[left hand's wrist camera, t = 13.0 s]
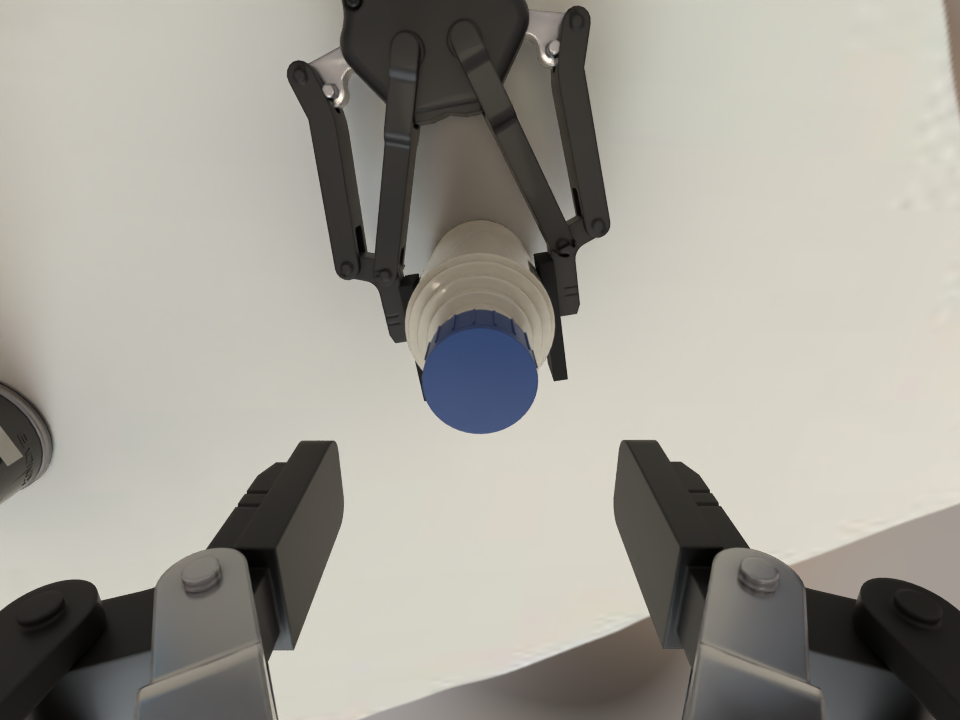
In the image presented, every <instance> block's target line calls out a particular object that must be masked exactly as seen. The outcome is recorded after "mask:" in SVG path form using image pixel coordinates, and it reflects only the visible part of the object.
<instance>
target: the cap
mask: <svg viewBox="0 0 960 720" xmlns="http://www.w3.org/2000/svg"><path fill="white" fill-rule="evenodd" d="M424 360H426V361H425V365H424V368H423V374H422V377H421V379H422V387H423V393H424V396H425V399H426V401H427V403H428V405H429V407H430V408H431V410H432V411H433V412H434V414H435V415H436V416H437V417H438V418H439V419H440V420H442V421H443V422H444V423H446V424H447V425H449V426H451V427H452V428H455V429H457V430H460V431H463V432H467V433H473V434H486V433H493V432H497V431H500V430H503V429H505V428H507V427H509V426H511V425H513V424H514V423H516V422H517V421H518V420H519V419H521V418H522V417H523V416H524V415H525V414H526V412H527V411H528V410H529V408H530V407H531V405H532V403H533V401H534V399H535V396H536V392H537V387H538V374H537V368H538V366H537V362H536V358H535V355H534V351H533V350H531V346H530V343H529V340H528V336H527V333H526V332H525V333H524V332H523V330H522V329H521V328H520V327H519V326H518V325H517V324H516V323H515V322H514V319H510V318H508V317H507V316H505V315H503V314H500V313H497V312H496V310H493V311H489V310H475V309H473V310H470V311H466V312H463V313H460V314H457V315H456V314H454V315H453V317H452V318H450V319H449V320H447V321H446V322H445V323H444V324H442V325H441V326H438V329H437V331H436V333H435V335H434V336H433V338H432V340H431V342H429V344H428V347H427V351H426V354H425V358H424Z"/></svg>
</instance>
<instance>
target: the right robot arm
mask: <svg viewBox="0 0 960 720" xmlns="http://www.w3.org/2000/svg"><path fill="white" fill-rule="evenodd" d="M342 4H343V10H344V22H343V28H342V32H341V37H340V47H338V48H336V49H335V50H333V51H331V52H329V53H327V54H325V55H324V56H322V57H320V58H318V59H316V60H314V61H313V62H311V63H306V62H304V61H299V60H298V61H294V62H292V63H291V64H290V65H289V67H288V70H287V78H288V81H289V83H290V85H291V87H292V89H293V91H294V93H295V95H296V97H297V99H298V100H299V102H300V104H301V106H302V108H303V110H304V112H305V114H306V116H307V118H308V120H309V125H310V131H311V136H312V142H313V148H314V153H315V159H316V164H317V170H318V176H319V181H320V187H321V192H322V198H323V204H324V209H325V215H326V220H327V226H328V232H329V237H330V243H331V248H332V254H333V260H334V265H335V270H336V273H337V274H338V275H339V277H340V278H342V279H344V280H351V279H358V280H363V281H368V282H370V283H372V284H374V285H375V286H376V287H377V289H378V291H379V293H380V297H381V301H382V305H383V310H384V314H385V317H386V322H387V326H388V330H389V334H390V336H391V338H392V339H393V340H394V342H395V343H400V342H406V341H407V339H406V332H405V317H406V310H407V307H408V303H409V300H410V298H411V296H412V293H413V291H414V289H415V287H416V285H417V283H418V281H419V279H420V278H419V273H418V274H412V275H406V276H405V277H404V274H403V269H404V267H405V265H404V257H405V248H406V239H407V230H408V221H409V212H410V203H411V194H412V185H413V176H414V167H415V158H416V150H417V145H418V141H419V133H420V126H421V125H427V124H432V123H436V122H438V121H440V120H442V119H444V118H446V117H448V116H461V117H469V116H475V115H480V114H483V116H484V118H485V120H486V122H487V124H488V126H489V128H490V130H491V132H492V134H493V136H494V138H495V140H496V142H497V144H498V146H499V148H500V150H501V152H502V154H503V156H504V158H505V160H506V162H507V164H508V166H509V168H510V170H511V172H512V174H513V176H514V179H515V181H516V183H517V185H518V187H519V189H520V191H521V193H522V195H523V197H524V199H525V201H526V203H527V205H528V207H529V209H530V211H531V213H532V215H533V217H534V219H535V221H536V223H537V225H538V227H539V229H540V231H541V234H542V236H543V238H544V240H545V242H546V244H547V251H548V252H542V253H536V254H534V261H535V268H536V271H537V273H538V275H539V277H540V279H541V282H542V284H543V286H544V288H545V290H546V292H547V294H548V296H549V298H550V300H551V303H552V307H553V311H554V317H555V332H554V338H553V342H552V346H551V349H550V351H549V354H548V356H547V360H548V365H549V368H550V371H551V374H552V377H553V380H554V381H559V380H566V379H568V377H567V369H566V360H565V352H564V343H563V335H562V326H561V318H560V316H566V315H572V314H577V312H578V308H579V305H580V301H579V291H578V282H577V272H576V262H575V256H576V253H577V251H578V249H579V248H580V247H581V246H582V245H584V244H585V243H587V242H589V241H591V240H592V239H594V238H598V237H602V236H604V235H605V234H606V233H607V232H608V231H609V228H610V218H609V212H608V206H607V200H606V194H605V188H604V182H603V177H602V171H601V165H600V159H599V153H598V147H597V141H596V135H595V129H594V123H593V117H592V111H591V105H590V99H589V93H588V88H587V82H586V76H585V70H584V65H585V58H586V51H587V44H588V37H589V30H590V15H589V13H588V11H587V10H586V9H585V8H584V7H581V6H573V7H572V8H570V9H568V11H567V12H566V13H558V12H549V11H539V10H530V9H528V6H527V3H526V1H525V0H342ZM524 39H525V40H529V41H530V42H532V43H533V44H534V46H535V47H536V50H537V57H538V61H539V63H540V64H541V65H542V66H543V67H545V68H548V69H551V85H552V92H553V98H554V103H555V109H556V114H557V119H558V124H559V129H560V135H561V140H562V145H563V150H564V156H565V161H566V166H567V171H568V177H569V182H570V187H571V192H572V198H573V203H574V208H575V213H576V216H575V217H573V218H571V219H570V220H568V221H565V219H564V217H563V214H562V212H561V210H560V208H559V206H558V204H557V202H556V200H555V197H554V195H553V193H552V191H551V189H550V187H549V185H548V183H547V180H546V178H545V176H544V174H543V172H542V170H541V168H540V166H539V163H538V161H537V159H536V157H535V155H534V153H533V151H532V149H531V146H530V144H529V142H528V140H527V138H526V136H525V134H524V132H523V129H522V127H521V125H520V123H519V121H518V119H517V116H516V113H515V110H514V108H513V106H512V104H511V101H510V99H509V97H508V95H507V93H506V91H505V89H504V87H503V84H504V82H505V79H506V77H507V75H508V73H509V71H510V68H511V66H512V64H513V62H514V60H515V57H516V55H517V53H518V51H519V49H520V46H521V44H522V42H523V40H524ZM353 73H356V74H357V75H358V76H359V77H360V78H361V79H362V80H363V81H364V82H365V83H366V84H367V85H368V86H369V87H370V88H371V89H372V90H373V91H374V92H375V93H376V94H377V95H378V96H379V97H380V98H381V99H382V100H383V101H384V102H385V103H386V114H385V126H384V140H385V147H384V158H383V169H382V180H381V191H380V202H379V213H378V224H377V235H376V246H375V254H374V253H369V252H367V246H366V240H365V233H364V227H363V220H362V214H361V207H360V201H359V194H358V188H357V181H356V175H355V168H354V162H353V155H352V149H351V142H350V136H349V130H348V125H347V121H346V118H345V115H344V111H343V109H342V108H343V107H345V106H346V105H347V104H348V102H349V99H350V93H349V89H348V81H349V78H350V77H351V75H352V74H353ZM415 362H416V361H415ZM416 367H417V371H418V376H419V380H420V384H421V389H422V393H423V387H422V379H421V377H422V374H423V371H422V369H421V368H420V367H419V366H418V364H417V363H416ZM423 397H424V401H426V399H425V396H424V393H423Z"/></svg>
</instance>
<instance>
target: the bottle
mask: <svg viewBox="0 0 960 720" xmlns="http://www.w3.org/2000/svg"><path fill="white" fill-rule="evenodd" d="M473 309H475V310H489V311H493V310H496V312H497V313H500V314H503V315H505V316H507V317H508V318H510V319H514V322H515V323H516V324H517V325H518V326H519V327H520V328H521V329H522V330H523V332H524V333H525V332H526V333H527V336H528V340H529V343H530V346H531V350H533V351H534V355H535V358H536V362H537V366H538V368H537V370H538V369H539V368H540V367H541V365H542V364H543V363H544V361H545V359H546V357H547V356H548V354H549V351H550V349H551V346H552V342H553V338H554V332H555V317H554V311H553V307H552V303H551V300H550V298H549V296H548V294H547V292H546V290H545V288H544V286H543V284H542V282H541V279H540V277H539V275H538V273H537V271H536V269H535V267H534V265H533V263H532V261H531V259H530V257H529V255H528V253H527V251H526V249H525V247H524V245H523V244H522V242H521V241H520V239H519V238H518V237H517V236H516V235H515V234H514V233H513V232H512V231H511V230H509V229H508V228H506V227H505V226H503V225H500V224H498V223H495V222H492V221H487V220H474V221H468V222H465V223H462V224H459V225H457V226H456V227H454V228H452V229H451V230H449V231H448V232H447V233H446V234H445V235H444V236H443V237H442V238H441V239H440V241H439V242H438V244H437V245H436V247H435V249H434V251H433V253H432V255H431V257H430V259H429V261H428V263H427V265H426V267H425V269H424V271H423V273H422V275H421V277H420V279H419V281H418V283H417V285H416V287H415V289H414V291H413V293H412V296H411V298H410V300H409V303H408V307H407V310H406V317H405V332H406V339H407V343H408V346H409V349H410V351H411V354H412V356H413V358H414V359H415V361H416V363H417V364H418V366H419V367H420V368H421V369H422V371H423V368H424V365H425V361H426V360H424V358H425V354H426V351H427V347H428V344H429V342H431V340H432V338H433V336H434V335H435V333H436V331H437V329H438V326H441V325H442V324H444V323H445V322H446V321H447V320H449V319H450V318H452V317H453V315H454V314H456V315H457V314H460V313H463V312H466V311H470V310H473Z"/></svg>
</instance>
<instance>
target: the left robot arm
mask: <svg viewBox="0 0 960 720" xmlns="http://www.w3.org/2000/svg"><path fill="white" fill-rule="evenodd" d="M51 456H52V444H51V439H50V435H49V432H48V430H47V428H46V425H45V424H44V422H43V420H42V419H41V417H40V416H39V414H38V413H37V412H36V411H35V409H34V408H33V407H32V406H31V405H30V404H29V403H28V402H27V401H26V400H25V399H23V398H22V397H21V396H20V395H18V394H17V393H15V392H14V391H12V390H11V389H9V388H7V387H6V386H4V385H2V384H0V504H2V503H3V502H4V501H6V500H7V499H8V498H10V497H11V496H13V495H14V494H15V493H17V492H18V491H19V490H22V489H24V488H26V487H28V486H29V485H30V484H32V483H33V482H35V481H36V480H37V479H39V478H40V477H41V476H42V475H43V474H44V473H45V471H46V470H47V468H48V466H49V464H50V461H51ZM343 511H344V496H343V487H342V479H341V470H340V461H339V452H338V447H337V444H336V442H335V441H301V442H300V443H299V444H298V446H297V447H296V449H295V450H294V452H293V453H292V455H291V457H290V458H289V460H288V461H287V462H276V463H275V464H273V465H272V466H271V467H269V468H268V469H266V470H265V471H264V472H262V473H261V474H259V475H258V476H257V477H256V479H255V480H254V482H253V483H252V485H251V486H250V487H249V489H248V490H247V494H245V495H244V496H243V497H242V499H241V500H240V502H239V503H238V507H235V509H234V510H233V512H232V513H231V515H230V516H229V517H228V519H227V520H226V522H225V523H224V525H223V526H222V527H221V529H220V530H219V532H218V533H217V535H216V536H215V537H214V539H213V540H212V542H211V543H210V545H209V546H208V547H207V549H206V550H203V551H199V552H197V553H194V554H191V555H189V556H187V557H185V558H183V559H181V560H180V561H178V562H177V563H175V564H174V565H172V566H171V567H170V568H169V569H168V570H166V572H165V573H164V574H163V575H162V576H161V577H160V579H159V580H158V582H157V584H156V586H155V587H154V588H152V589H148V590H145V591H141V592H136V593H132V594H128V595H123V596H119V597H115V598H111V599H106V600H102V601H101V600H100V597H99V594H98V591H97V589H96V587H95V585H93V584H92V583H91V582H88V581H85V580H64V581H59V582H55V583H52V584H48V585H45V586H43V587H40V588H37V589H35V590H33V591H31V592H29V593H27V594H25V595H23V596H21V597H20V598H18V599H16V600H15V601H13V602H12V603H10V604H9V605H7V606H6V607H5V608H4V609H2V610H1V611H0V720H279V719H278V713H277V708H276V702H275V697H274V691H273V686H272V680H271V675H270V670H269V665H268V660H269V658H270V656H271V653H272V651H273V650H294V648H295V645H296V643H297V640H298V638H299V635H300V632H301V630H302V627H303V624H304V622H305V619H306V616H307V614H308V611H309V608H310V606H311V603H312V601H313V598H314V595H315V593H316V590H317V587H318V585H319V582H320V579H321V577H322V574H323V571H324V569H325V566H326V564H327V561H328V558H329V556H330V553H331V550H332V548H333V545H334V542H335V540H336V537H337V535H338V532H339V529H340V526H341V523H342V519H343ZM614 515H615V521H616V524H617V527H618V530H619V533H620V535H621V538H622V541H623V543H624V546H625V549H626V552H627V554H628V557H629V560H630V562H631V565H632V568H633V570H634V573H635V576H636V578H637V581H638V584H639V586H640V589H641V592H642V595H643V597H644V600H645V603H646V605H647V608H648V611H649V613H650V616H651V619H652V621H653V624H654V627H655V629H656V632H657V635H658V637H659V640H660V643H661V646H662V648H663V649H684V651H685V654H686V656H687V659H688V661H689V664H690V666H691V670H690V675H689V680H688V686H687V691H686V697H685V702H684V708H683V714H682V719H681V720H960V611H959V610H958V609H957V608H955V607H954V606H953V605H951V604H950V603H949V602H947V601H946V600H944V599H943V598H941V597H940V596H938V595H936V594H934V593H933V592H931V591H929V590H927V589H925V588H922V587H920V586H917V585H915V584H912V583H909V582H906V581H902V580H897V579H892V578H875V579H871V580H868V581H866V582H865V583H864V584H863V585H862V587H861V590H860V593H859V595H858V598H857V600H855V599H851V598H847V597H842V596H838V595H834V594H830V593H825V592H821V591H817V590H812V589H809V588H805V586H804V584H803V582H802V580H801V579H800V577H799V576H798V575H797V574H796V573H795V572H794V571H793V570H792V569H791V568H790V567H789V566H788V565H786V564H785V563H783V562H782V561H780V560H779V559H777V558H775V557H773V556H771V555H769V554H766V553H763V552H761V551H757V550H753V549H750V548H749V546H748V545H747V543H746V542H745V540H744V539H743V537H742V536H741V535H740V533H739V532H738V530H737V529H736V527H735V526H734V524H733V523H732V522H731V520H730V519H729V517H728V516H727V514H726V513H725V511H724V510H723V509H722V507H721V506H719V503H718V501H717V500H716V498H715V497H714V496H713V494H712V493H710V490H709V488H708V487H707V485H706V484H705V483H704V481H703V480H702V478H701V477H700V475H699V474H697V473H696V472H694V471H693V470H692V469H690V468H689V467H687V466H686V465H685V464H683V463H682V462H670V461H669V459H668V457H667V456H666V454H665V453H664V451H663V449H662V448H661V446H660V445H659V443H658V442H657V441H656V440H623V441H622V442H621V444H620V447H619V455H618V464H617V473H616V482H615V491H614Z"/></svg>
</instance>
